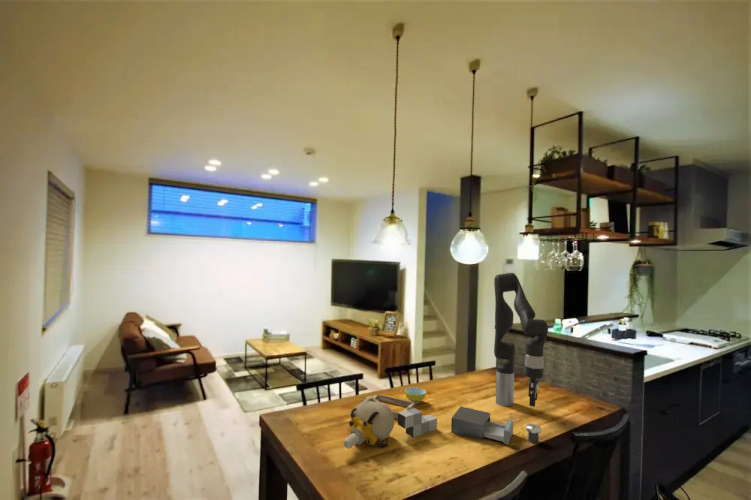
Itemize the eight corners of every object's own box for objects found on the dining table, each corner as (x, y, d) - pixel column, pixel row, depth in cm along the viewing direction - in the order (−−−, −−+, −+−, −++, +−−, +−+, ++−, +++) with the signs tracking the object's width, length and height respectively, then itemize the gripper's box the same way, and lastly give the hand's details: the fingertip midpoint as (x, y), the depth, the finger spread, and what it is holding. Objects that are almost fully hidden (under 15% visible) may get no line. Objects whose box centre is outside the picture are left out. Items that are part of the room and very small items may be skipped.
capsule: (528, 437, 162) (529, 427, 162) (538, 440, 160) (538, 429, 160) (527, 441, 158) (528, 431, 158) (537, 444, 156) (538, 433, 156)
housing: (460, 419, 178) (460, 406, 178) (489, 427, 171) (490, 413, 171) (451, 432, 164) (451, 417, 165) (482, 440, 158) (483, 425, 158)
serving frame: (377, 399, 200) (377, 393, 201) (415, 408, 190) (415, 402, 190) (362, 410, 186) (362, 404, 186) (401, 420, 175) (401, 414, 175)
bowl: (427, 407, 192) (427, 395, 192) (405, 406, 192) (405, 394, 193) (424, 398, 204) (425, 387, 204) (404, 398, 204) (404, 386, 204)
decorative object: (367, 385, 170) (317, 410, 147) (406, 407, 156) (357, 439, 133) (363, 415, 173) (314, 444, 150) (402, 439, 158) (353, 476, 136)
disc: (526, 426, 163) (526, 422, 163) (541, 429, 160) (541, 425, 160) (525, 431, 158) (525, 427, 158) (540, 435, 155) (540, 431, 155)
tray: (479, 425, 172) (479, 412, 172) (512, 433, 165) (513, 420, 165) (473, 435, 161) (473, 422, 161) (508, 444, 154) (508, 430, 154)
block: (404, 441, 156) (405, 416, 156) (397, 436, 160) (397, 412, 160) (437, 429, 167) (437, 406, 167) (429, 425, 171) (429, 403, 171)
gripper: (526, 360, 168) (526, 396, 167) (522, 367, 155) (521, 406, 155) (544, 363, 164) (544, 399, 164) (542, 370, 152) (541, 410, 151)
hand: (533, 402), depth 159 cm, fingers open, 8 cm apart
